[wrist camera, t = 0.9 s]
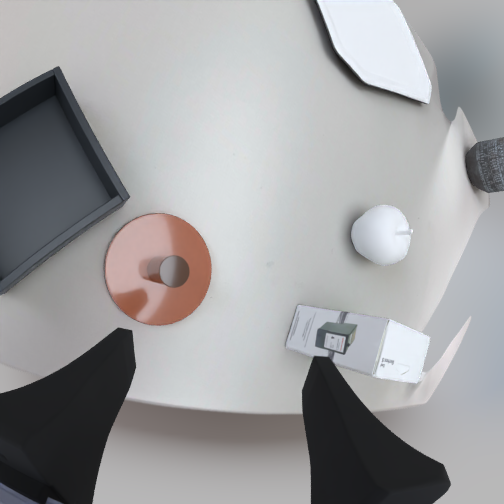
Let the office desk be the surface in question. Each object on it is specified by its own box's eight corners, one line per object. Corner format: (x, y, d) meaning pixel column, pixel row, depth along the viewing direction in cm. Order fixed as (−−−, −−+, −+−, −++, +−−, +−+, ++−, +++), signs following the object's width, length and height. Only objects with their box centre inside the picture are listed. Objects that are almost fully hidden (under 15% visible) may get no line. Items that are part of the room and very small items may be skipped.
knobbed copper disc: (147, 345, 25) (162, 362, 21) (82, 254, 22) (83, 254, 18) (226, 281, 29) (254, 285, 25) (172, 194, 26) (191, 181, 22)
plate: (334, 83, 37) (345, 76, 35) (284, -51, 35) (292, -58, 33) (430, 110, 51) (439, 107, 50) (386, -2, 49) (393, -6, 47)
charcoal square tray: (4, 293, 19) (-8, 299, 16) (-57, 166, 16) (-73, 153, 12) (123, 205, 24) (130, 196, 21) (59, 89, 21) (59, 65, 17)
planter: (460, 135, 60) (506, 125, 49) (478, 159, 66) (519, 152, 55) (463, 181, 58) (513, 174, 47) (480, 201, 64) (524, 197, 53)
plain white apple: (345, 199, 37) (400, 189, 30) (380, 219, 40) (431, 213, 33) (336, 257, 36) (394, 256, 29) (373, 271, 39) (426, 272, 32)
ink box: (348, 321, 37) (434, 335, 27) (336, 360, 36) (420, 384, 26) (296, 302, 33) (391, 316, 23) (282, 348, 32) (373, 379, 22)
